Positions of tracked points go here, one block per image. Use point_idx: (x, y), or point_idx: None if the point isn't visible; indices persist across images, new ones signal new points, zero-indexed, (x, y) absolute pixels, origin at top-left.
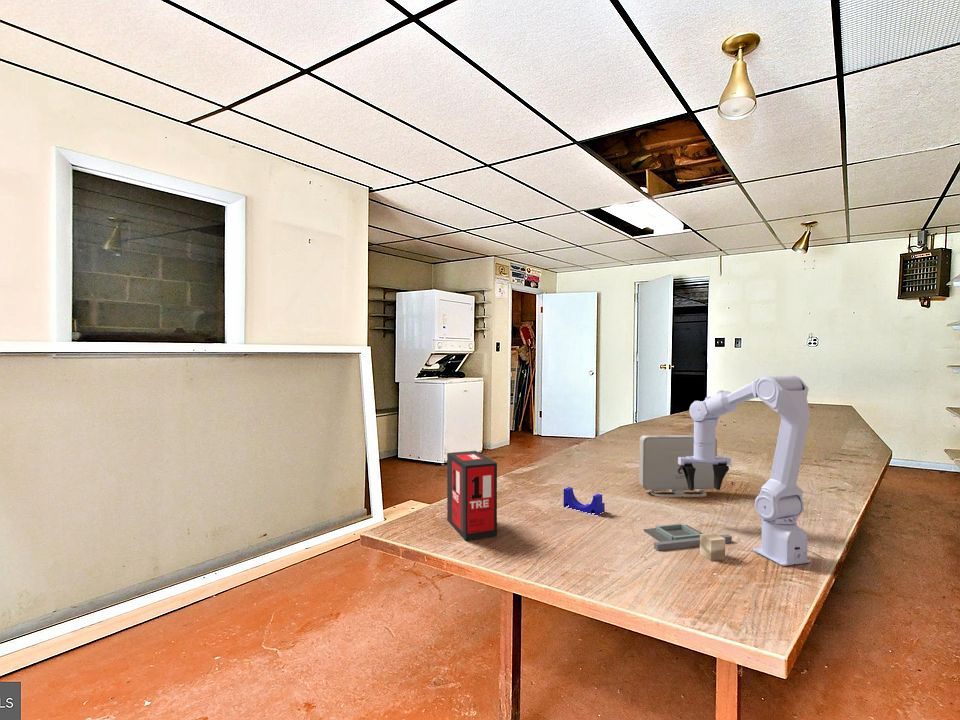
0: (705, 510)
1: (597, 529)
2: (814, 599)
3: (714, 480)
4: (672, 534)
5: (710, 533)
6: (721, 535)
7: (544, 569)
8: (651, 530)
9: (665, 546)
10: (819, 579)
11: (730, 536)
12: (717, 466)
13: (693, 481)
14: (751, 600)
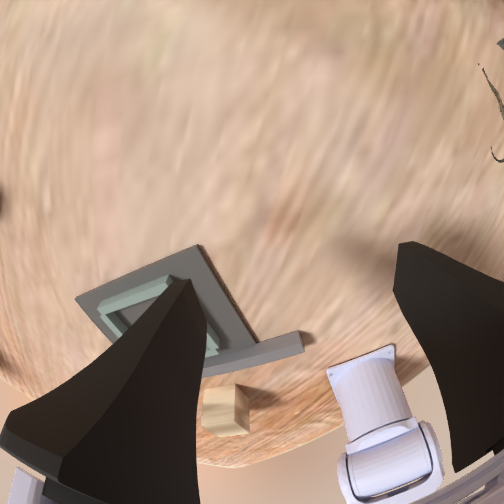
0: (335, 30)
1: (9, 294)
2: (315, 438)
3: (435, 276)
4: None
5: (224, 423)
6: (278, 351)
7: (38, 394)
8: (93, 305)
9: None
10: None
11: (300, 352)
12: (492, 432)
13: (194, 393)
14: (243, 446)
